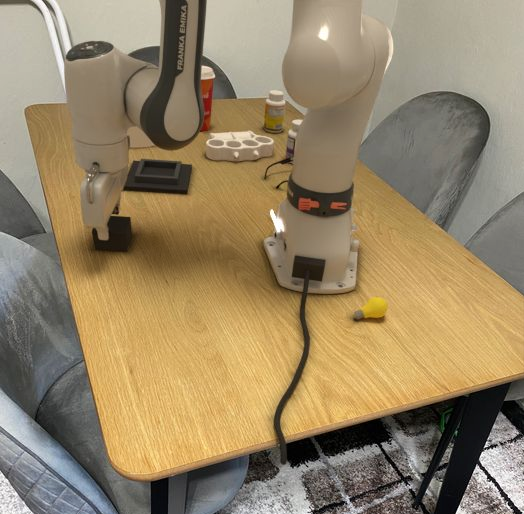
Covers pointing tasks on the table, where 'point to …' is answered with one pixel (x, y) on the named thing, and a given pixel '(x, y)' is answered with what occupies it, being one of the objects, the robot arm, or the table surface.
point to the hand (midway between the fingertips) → (110, 225)
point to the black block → (115, 235)
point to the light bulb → (372, 309)
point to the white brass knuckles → (238, 146)
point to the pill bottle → (292, 139)
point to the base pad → (159, 176)
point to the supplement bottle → (274, 112)
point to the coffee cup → (207, 94)
